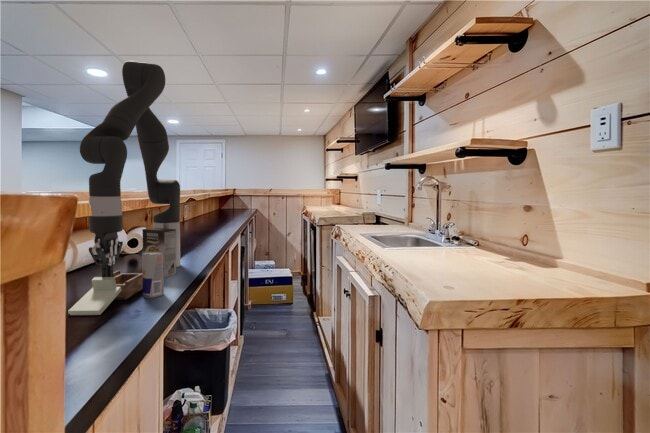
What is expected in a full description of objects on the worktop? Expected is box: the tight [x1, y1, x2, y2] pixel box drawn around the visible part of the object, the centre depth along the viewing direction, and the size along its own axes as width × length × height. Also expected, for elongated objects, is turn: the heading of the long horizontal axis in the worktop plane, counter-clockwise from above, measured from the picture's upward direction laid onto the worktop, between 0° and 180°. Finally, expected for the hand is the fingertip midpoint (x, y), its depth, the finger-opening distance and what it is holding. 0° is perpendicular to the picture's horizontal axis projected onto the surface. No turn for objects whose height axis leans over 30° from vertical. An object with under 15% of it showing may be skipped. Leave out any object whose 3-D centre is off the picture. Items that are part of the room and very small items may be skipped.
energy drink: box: [141, 252, 165, 299], centre depth 102 cm, size 5×5×12 cm
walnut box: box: [113, 269, 143, 301], centre depth 104 cm, size 14×9×5 cm, turn 4°
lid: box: [67, 276, 121, 316], centre depth 90 cm, size 11×7×4 cm, turn 4°
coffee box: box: [142, 227, 177, 278], centre depth 126 cm, size 9×6×16 cm
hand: (107, 279), depth 96 cm, fingers closed
